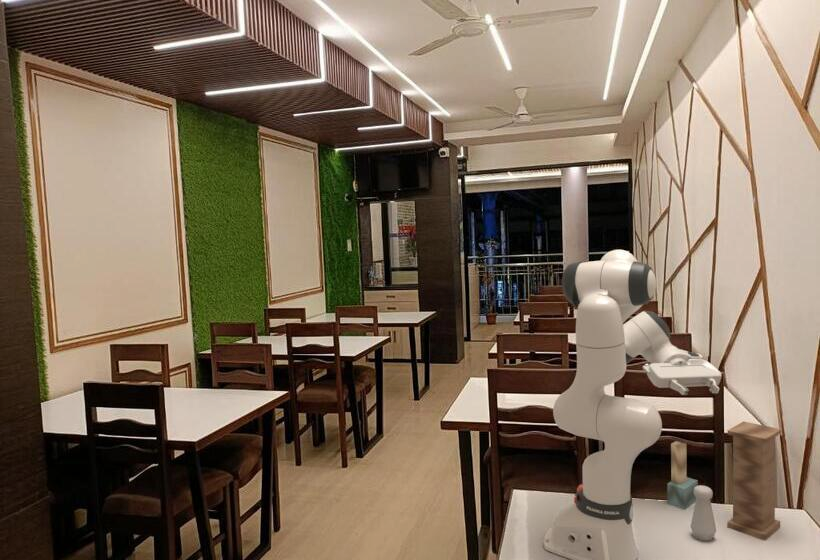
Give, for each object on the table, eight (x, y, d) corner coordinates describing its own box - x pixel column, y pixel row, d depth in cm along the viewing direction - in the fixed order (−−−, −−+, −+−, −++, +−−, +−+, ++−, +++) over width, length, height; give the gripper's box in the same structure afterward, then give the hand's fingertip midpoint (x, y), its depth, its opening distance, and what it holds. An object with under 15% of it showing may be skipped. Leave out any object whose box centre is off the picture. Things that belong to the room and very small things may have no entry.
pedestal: (727, 527, 152) (727, 430, 150) (743, 514, 158) (743, 421, 156) (765, 540, 145) (766, 439, 143) (780, 526, 151) (781, 429, 149)
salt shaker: (719, 543, 144) (719, 493, 143) (694, 542, 146) (694, 492, 144) (711, 531, 150) (711, 483, 149) (688, 530, 151) (687, 482, 150)
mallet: (666, 446, 165) (684, 450, 161) (680, 438, 170) (697, 443, 166) (667, 504, 166) (684, 509, 162) (680, 495, 171) (697, 500, 167)
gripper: (642, 355, 166) (670, 383, 153) (705, 353, 170) (737, 380, 157) (636, 373, 168) (663, 403, 156) (698, 371, 172) (730, 400, 160)
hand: (701, 392), depth 157 cm, fingers open, 8 cm apart
